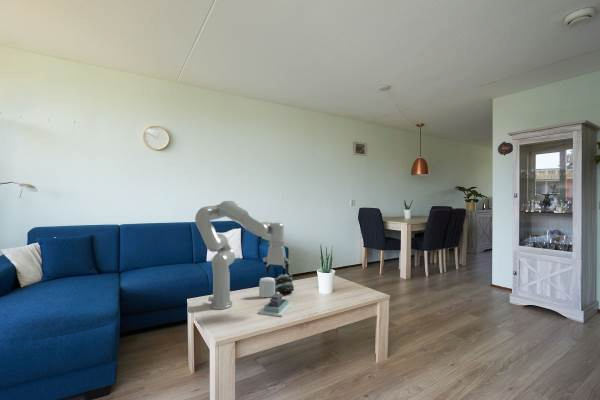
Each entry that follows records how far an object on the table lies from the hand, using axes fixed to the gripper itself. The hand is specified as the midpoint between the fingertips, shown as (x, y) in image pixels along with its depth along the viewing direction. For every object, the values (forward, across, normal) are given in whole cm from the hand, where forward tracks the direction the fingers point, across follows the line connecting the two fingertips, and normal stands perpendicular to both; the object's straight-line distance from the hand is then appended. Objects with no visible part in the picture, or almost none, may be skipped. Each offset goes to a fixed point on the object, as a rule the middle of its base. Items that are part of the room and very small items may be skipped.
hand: (276, 273), depth 166 cm
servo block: (+19, 0, 0) cm, 19 cm away
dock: (+20, 0, 0) cm, 20 cm away
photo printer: (+21, -14, +17) cm, 30 cm away
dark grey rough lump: (+21, -8, +28) cm, 36 cm away
